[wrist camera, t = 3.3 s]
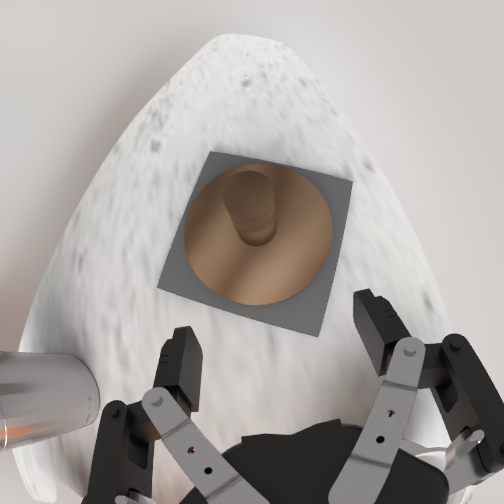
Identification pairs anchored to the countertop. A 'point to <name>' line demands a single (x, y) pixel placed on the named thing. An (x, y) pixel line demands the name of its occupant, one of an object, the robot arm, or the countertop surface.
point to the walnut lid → (258, 234)
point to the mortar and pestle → (84, 500)
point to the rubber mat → (279, 314)
